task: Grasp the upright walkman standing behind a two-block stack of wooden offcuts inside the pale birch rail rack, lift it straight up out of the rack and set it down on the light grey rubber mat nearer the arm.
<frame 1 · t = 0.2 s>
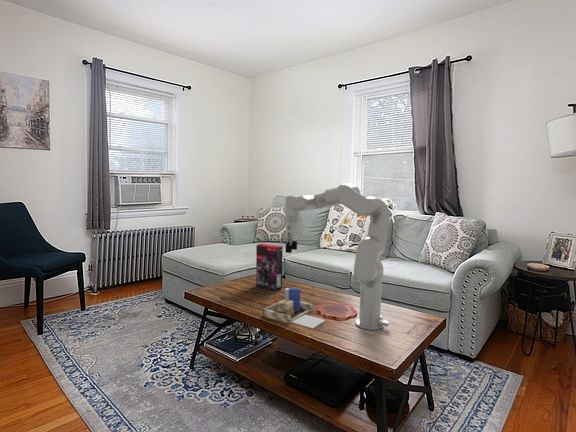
hand: (291, 251, 186), 30 cm above the table, fingers open, 9 cm apart
offcut upper: (285, 309, 172), point 4 cm above the table, touching offcut lower
walkman: (292, 311, 181), resting in rack
mat: (308, 321, 167), on the table
graphics card box: (268, 287, 222), on the table
rack: (288, 313, 177), on the table
offcut lower: (285, 317, 172), resting in rack, touching offcut upper
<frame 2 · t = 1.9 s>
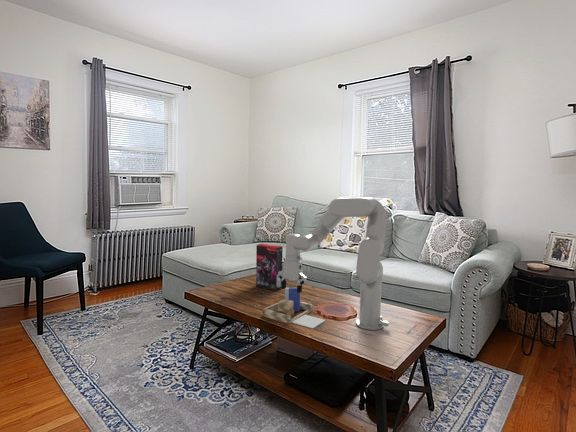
hand: (291, 290, 181), 11 cm above the table, fingers open, 9 cm apart
nothing on the table moved.
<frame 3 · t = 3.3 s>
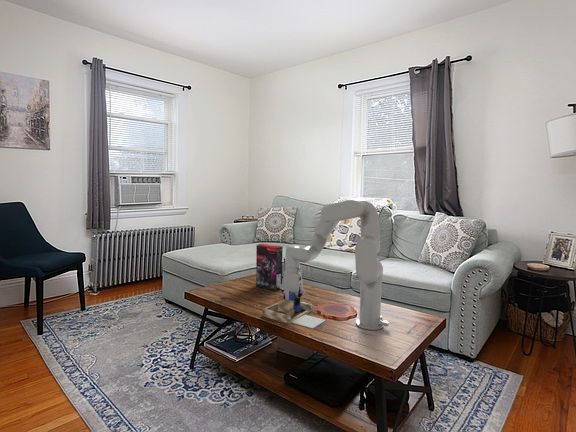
hand: (291, 303, 181), 4 cm above the table, fingers closed on walkman, 6 cm apart
offcut upper: (285, 309, 172), point 4 cm above the table
walkman: (292, 311, 181), resting in rack, touching gripper
offcut lower: (285, 317, 172), resting in rack
everything else where it was.
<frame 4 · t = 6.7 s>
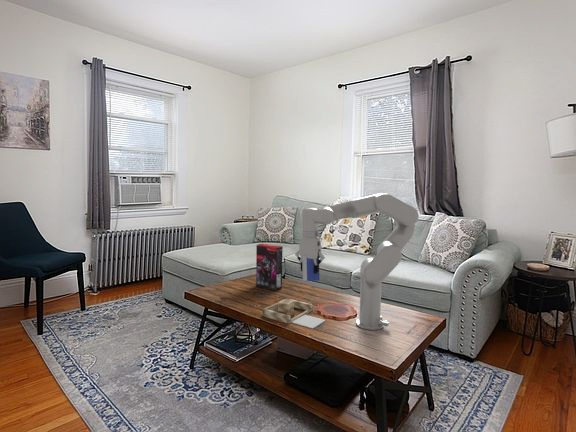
hand: (309, 271, 165), 24 cm above the table, fingers closed on walkman, 6 cm apart
offcut upper: (285, 309, 172), point 4 cm above the table, touching offcut lower
walkman: (311, 280, 165), point 20 cm above the table, touching gripper
offcut lower: (285, 317, 172), resting in rack, touching offcut upper
everything else where it was.
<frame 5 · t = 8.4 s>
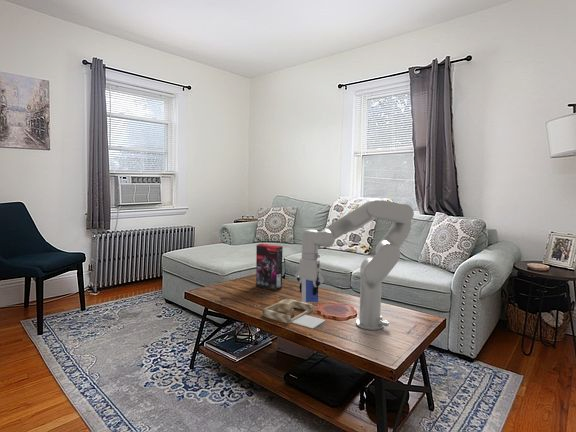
hand: (308, 292, 166), 14 cm above the table, fingers closed on walkman, 6 cm apart
walkman: (310, 301, 165), point 10 cm above the table, touching gripper
everything else where it was.
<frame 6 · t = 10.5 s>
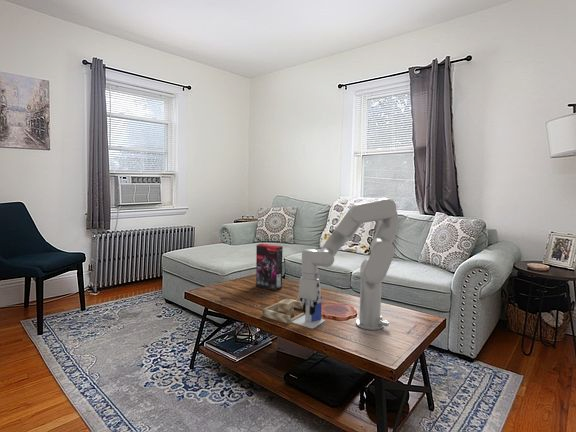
hand: (308, 312, 166), 4 cm above the table, fingers closed on walkman, 3 cm apart
offcut upper: (285, 309, 172), point 4 cm above the table
walkman: (313, 320, 168), resting on mat, touching gripper
offcut lower: (285, 317, 172), resting in rack
everything else where it was.
when the fingers open (4 cm above the table, at t = 10.5 s): walkman stays where it is, resting on mat.
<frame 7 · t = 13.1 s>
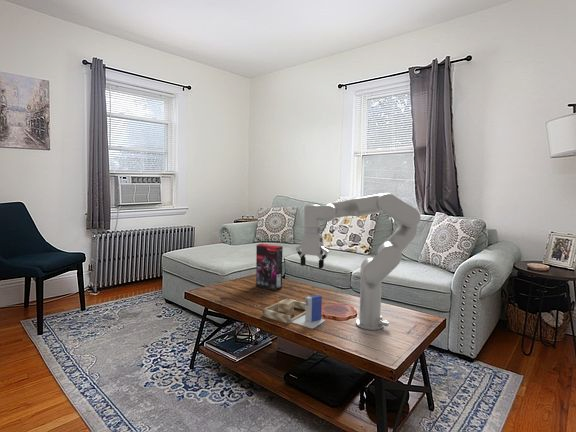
hand: (311, 266, 166), 26 cm above the table, fingers open, 9 cm apart
offcut upper: (285, 309, 172), point 4 cm above the table, touching offcut lower
walkman: (313, 320, 168), resting on mat
offcut lower: (285, 317, 172), resting in rack, touching offcut upper
everything else where it was.
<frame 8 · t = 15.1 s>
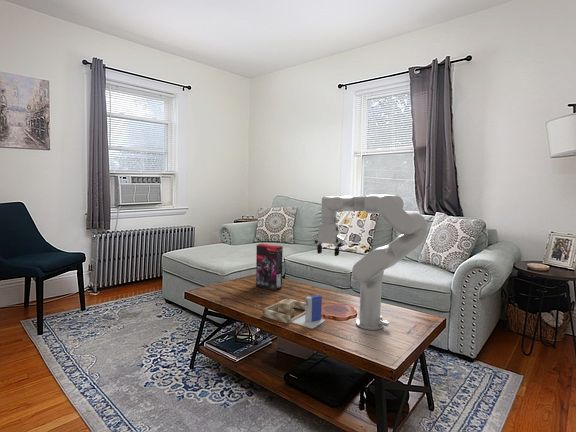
hand: (327, 254, 177), 30 cm above the table, fingers open, 9 cm apart
nothing on the table moved.
at the end: walkman inside the target area on the mat (2.5 cm from its centre), point 0.2 cm above the mat's base; walkman moved 16.8 cm from its start; the gripper is holding nothing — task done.
